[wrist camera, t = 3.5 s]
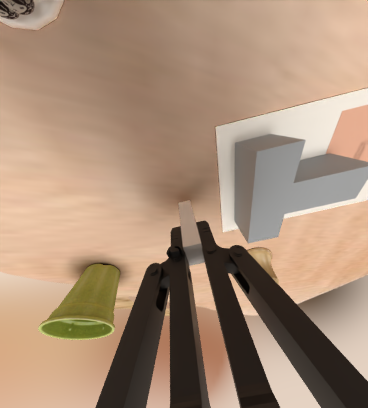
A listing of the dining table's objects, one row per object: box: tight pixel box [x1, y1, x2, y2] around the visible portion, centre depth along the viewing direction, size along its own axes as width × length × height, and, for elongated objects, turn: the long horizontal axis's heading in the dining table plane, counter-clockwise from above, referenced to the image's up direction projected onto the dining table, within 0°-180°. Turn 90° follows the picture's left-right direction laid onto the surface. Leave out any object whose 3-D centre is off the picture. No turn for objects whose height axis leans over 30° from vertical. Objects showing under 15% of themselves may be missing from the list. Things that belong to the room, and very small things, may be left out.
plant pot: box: [38, 264, 120, 340], centre depth 22 cm, size 9×9×9 cm
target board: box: [215, 88, 368, 232], centre depth 18 cm, size 16×28×1 cm, turn 102°
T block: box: [234, 134, 368, 243], centre depth 16 cm, size 12×12×4 cm
